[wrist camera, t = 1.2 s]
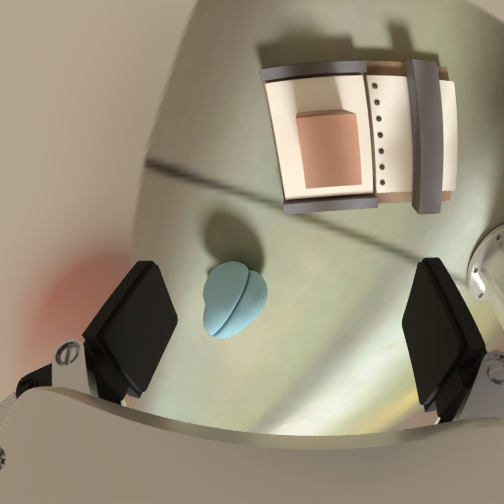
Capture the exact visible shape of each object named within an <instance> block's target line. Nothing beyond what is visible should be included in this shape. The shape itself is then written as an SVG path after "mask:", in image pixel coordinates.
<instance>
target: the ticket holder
mask: <svg viewBox="0 0 504 504" xmlns="http://www.w3.org/2000/svg"><path fill="white" fill-rule="evenodd" d="M259 74H260V79H261V81H263V83H264V88H265V93H266V98H267V104H268V109H269V114H270V119H271V125H272V130H273V136H274V141H275V147H276V153H277V159H278V165H279V171H280V177H281V183H282V189H283V196H284V202H283V208H284V215H287V214H299V213H311V212H323V211H336V210H350V209H365V208H378V203H394V202H412V207H413V208H414V209H415V210H416V212H417V213H418V214H436V213H440V209H441V201H447V200H450V195H451V191H455V189H456V176H457V111H456V97H455V87H454V82H451V81H449V77H448V70H447V67H441V66H437V62H433V61H425V60H417V59H410V60H406V61H404V62H393V61H330V62H315V63H304V64H295V65H287V66H279V67H272V68H266V69H261V70H259ZM355 75H363V81H364V87H365V94H366V102H367V110H368V118H369V128H370V140H371V154H372V173H373V193H367V194H351V195H337V196H324V197H311V198H300V199H289V200H285V193H284V187H283V180H282V174H281V168H280V162H279V156H278V150H277V144H276V138H275V133H274V127H273V122H272V116H271V111H270V106H269V101H268V95H267V90H266V85H265V84H266V83H273V82H280V81H287V80H296V79H305V78H316V77H330V76H355Z"/></svg>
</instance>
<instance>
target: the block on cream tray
mask: <svg viewBox="0 0 504 504" xmlns="http://www.w3.org/2000/svg"><path fill="white" fill-rule="evenodd" d="M265 85H266V90H267V95H268V101H269V106H270V111H271V116H272V122H273V127H274V133H275V138H276V144H277V150H278V156H279V162H280V168H281V174H282V180H283V187H284V193H285V200H289V199H300V198H311V197H324V196H337V195H351V194H367V193H373V173H372V154H371V140H370V128H369V118H368V110H367V102H366V94H365V87H364V81H363V75H355V76H330V77H316V78H305V79H296V80H287V81H280V82H273V83H266V84H265Z"/></svg>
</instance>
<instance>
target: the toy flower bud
mask: <svg viewBox="0 0 504 504" xmlns="http://www.w3.org/2000/svg"><path fill="white" fill-rule="evenodd" d="M203 298H204V301H205V310H204V317H203V323H204V327H205V330H206V331H207V333H208V334H210V335H213V336H214V337H215V338H219V339H223V338H228V337H230V336H232V335H234V334H236V333H238V332H239V331H241V330H242V329H243V328H245V327H246V326H247V325H249V324H250V323H251V322H252V321H253V320H254V319H255V318H256V317H257V316H258V315H259V314H260V312H261V311H262V309H263V307H264V305H265V302H266V299H267V285H266V282H265V280H264V279H263V277H262V276H261V275H260V274H258V273H257V272H255V271H252V270H248V268H247V267H246V266H245V265H244V264H242V263H240V262H237V261H230V262H226V263H223V264H220V265H218V266H217V267H215V268H214V269H213V270H212V272H211V273H210V274H209V276H208V278H207V280H206V283H205V286H204V290H203Z"/></svg>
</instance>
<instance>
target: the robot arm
mask: <svg viewBox="0 0 504 504" xmlns="http://www.w3.org/2000/svg"><path fill="white" fill-rule="evenodd" d="M467 284H468V288H469V290H470V291H471V293H472V295H473V296H474V297H475V298H476V299H478V300H481V301H488V302H489V303H490V305H491V307H492V309H493V311H494V312H495V314H496V316H497V318H498V320H499V322H500V324H501V326H502V327H503V329H504V224H503V225H501V226H499V227H497V228H495V229H494V230H493V231H491V232H490V233H489V234H488V235H487V236H486V237H485V238H484V239H483V241H482V242H481V243H480V245H479V246H478V247H477V249H476V251H475V253H474V254H473V257H472V259H471V261H470V264H469V268H468V273H467ZM177 322H178V318H177V314H176V312H175V309H174V306H173V304H172V301H171V299H170V296H169V293H168V291H167V288H166V285H165V283H164V280H163V277H162V274H161V272H160V269H159V266H158V265H155V263H154V262H153V261H138V262H137V263H136V264H135V265H134V266H133V268H132V269H131V270H130V271H129V273H128V274H127V275H126V277H125V278H124V279H123V280H122V282H121V283H120V284H119V286H118V287H117V288H116V289H115V291H114V292H113V293H112V295H111V296H110V297H109V298H108V300H107V301H106V303H105V304H104V305H103V306H102V308H101V309H100V311H99V312H98V313H97V315H96V316H95V318H94V319H93V320H92V322H91V323H90V324H89V326H88V327H87V329H86V330H85V331H84V333H83V335H82V336H83V337H84V339H85V340H86V341H85V342H84V343H82V342H81V340H79V339H76V338H74V339H73V338H72V339H68V340H66V341H64V342H62V343H61V344H60V345H59V346H58V347H57V348H56V349H55V352H54V353H53V357H52V363H51V364H49V365H47V366H44V367H42V368H40V369H38V370H36V371H34V372H32V373H29V374H27V375H26V376H24V377H23V378H21V380H20V381H19V383H18V385H17V388H16V393H15V392H13V393H12V394H10V395H9V396H8V397H7V398H6V399H5V400H3V401H2V402H1V403H0V504H504V352H502V351H500V350H493V351H490V352H488V353H487V351H486V348H485V347H486V345H485V343H484V341H483V338H482V336H481V334H480V332H479V330H478V327H477V325H476V323H475V321H474V319H473V317H472V315H471V313H470V311H469V309H468V307H467V305H466V303H465V301H464V299H463V298H462V296H461V294H460V292H459V290H458V288H457V287H456V285H455V283H454V281H453V280H452V278H451V276H450V274H449V273H448V271H447V269H446V268H445V266H444V265H443V263H442V261H441V260H440V259H439V258H424V259H423V260H422V262H419V263H418V265H417V269H416V273H415V277H414V281H413V284H412V288H411V292H410V295H409V299H408V302H407V305H406V309H405V312H404V315H403V318H402V328H403V332H404V335H405V339H406V343H407V347H408V351H409V355H410V359H411V363H412V368H413V372H414V377H415V382H416V387H417V392H418V397H419V402H420V404H421V405H424V409H425V412H430V411H435V410H437V414H438V419H437V421H436V422H435V424H434V425H431V426H425V427H419V428H413V429H406V430H399V431H391V432H382V433H373V434H361V435H344V436H290V435H272V434H260V433H249V432H241V431H233V430H226V429H219V428H213V427H207V426H202V425H196V424H191V423H186V422H182V421H177V420H173V419H168V418H164V417H160V416H156V415H153V414H149V413H145V412H142V411H138V410H135V409H131V408H128V407H127V405H126V402H125V398H124V397H125V395H126V393H127V394H128V395H129V396H133V397H136V398H140V396H141V394H142V392H145V391H146V389H147V388H148V385H149V383H150V381H151V379H152V376H153V374H154V372H155V370H156V368H157V366H158V363H159V361H160V359H161V357H162V355H163V353H164V351H165V348H166V346H167V344H168V342H169V340H170V338H171V336H172V334H173V332H174V329H175V327H176V325H177Z"/></svg>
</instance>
